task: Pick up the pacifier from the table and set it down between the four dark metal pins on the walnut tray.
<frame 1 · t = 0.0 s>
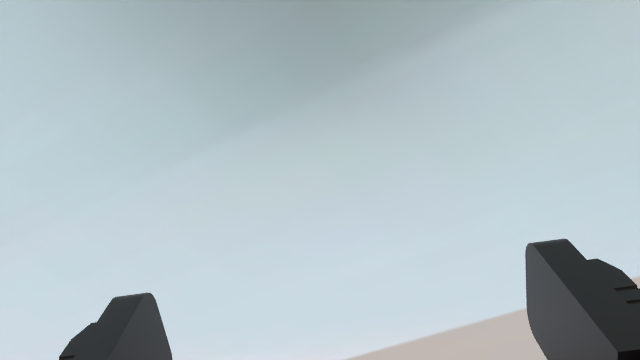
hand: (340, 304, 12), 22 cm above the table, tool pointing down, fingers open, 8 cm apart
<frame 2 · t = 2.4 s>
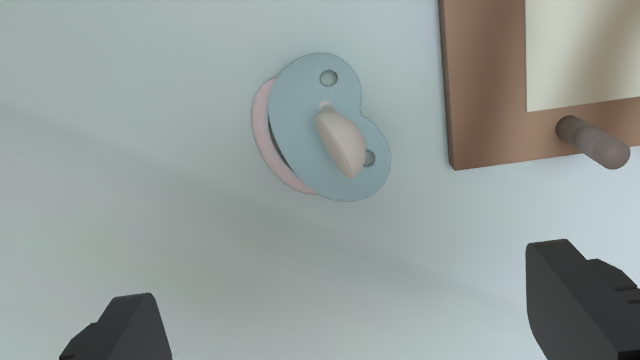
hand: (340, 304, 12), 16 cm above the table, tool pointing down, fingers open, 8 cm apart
pacifier: (315, 126, 28), on the table
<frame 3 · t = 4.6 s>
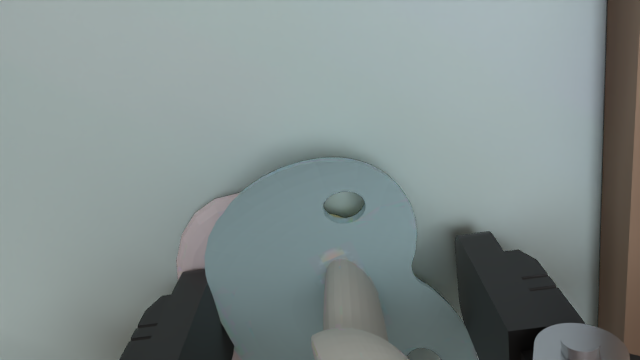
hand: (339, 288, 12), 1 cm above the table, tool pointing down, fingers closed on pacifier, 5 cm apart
pacifier: (313, 283, 13), on the table, touching gripper
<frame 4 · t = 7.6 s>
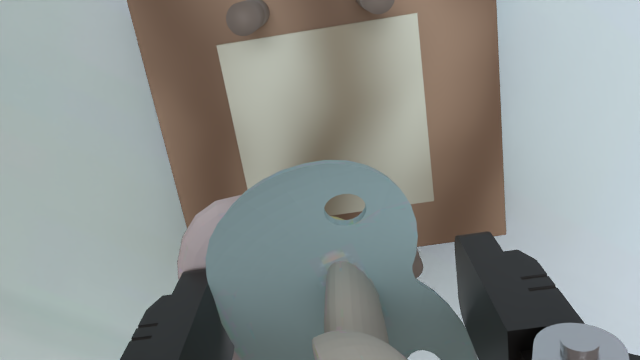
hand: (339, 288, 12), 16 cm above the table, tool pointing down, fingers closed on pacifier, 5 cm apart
pacifier: (314, 285, 13), point 15 cm above the table, touching gripper
pin tray: (330, 120, 27), on the table
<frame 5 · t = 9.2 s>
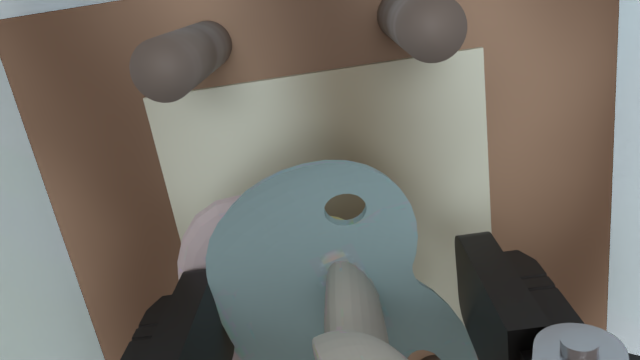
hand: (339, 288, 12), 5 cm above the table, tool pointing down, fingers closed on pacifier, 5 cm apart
pacifier: (314, 285, 13), point 4 cm above the table, touching gripper
pin tray: (333, 209, 17), on the table
when the fingers open (3 cm above the table, at t = 10.4 s): pacifier stays where it is, resting on pin tray.
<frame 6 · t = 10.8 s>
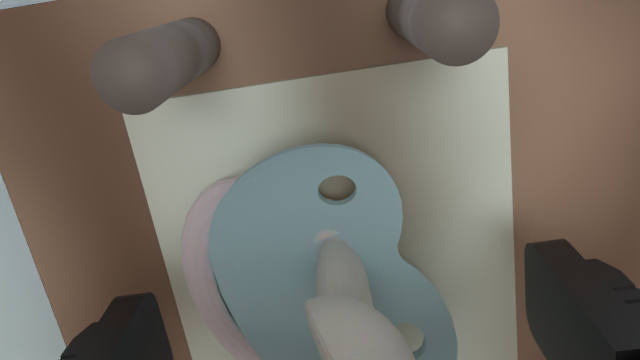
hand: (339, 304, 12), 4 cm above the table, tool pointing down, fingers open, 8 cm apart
pacifier: (307, 263, 14), point 1 cm above the table, touching pin tray
pin tray: (336, 227, 15), on the table
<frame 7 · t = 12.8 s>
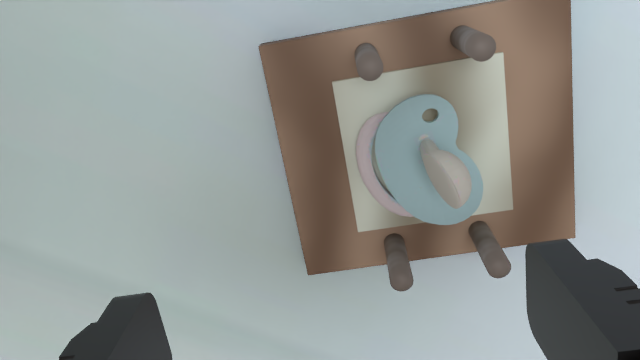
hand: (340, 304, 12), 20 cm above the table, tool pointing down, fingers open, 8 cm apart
pacifier: (411, 155, 30), point 1 cm above the table, touching pin tray
pin tray: (422, 140, 31), on the table
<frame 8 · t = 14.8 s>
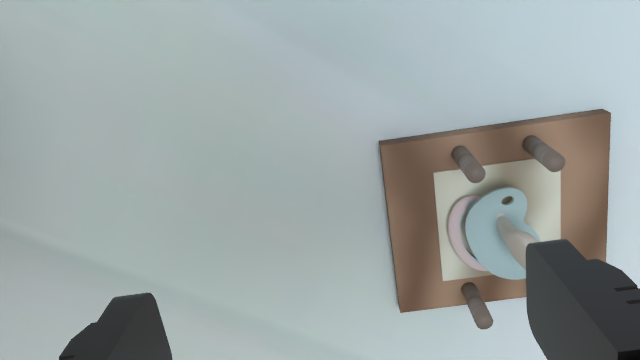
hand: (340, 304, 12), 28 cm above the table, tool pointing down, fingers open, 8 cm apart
pacifier: (487, 225, 41), point 1 cm above the table, touching pin tray
pin tray: (493, 213, 41), on the table
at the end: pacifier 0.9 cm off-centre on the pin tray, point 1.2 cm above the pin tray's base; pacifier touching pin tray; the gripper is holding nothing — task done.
